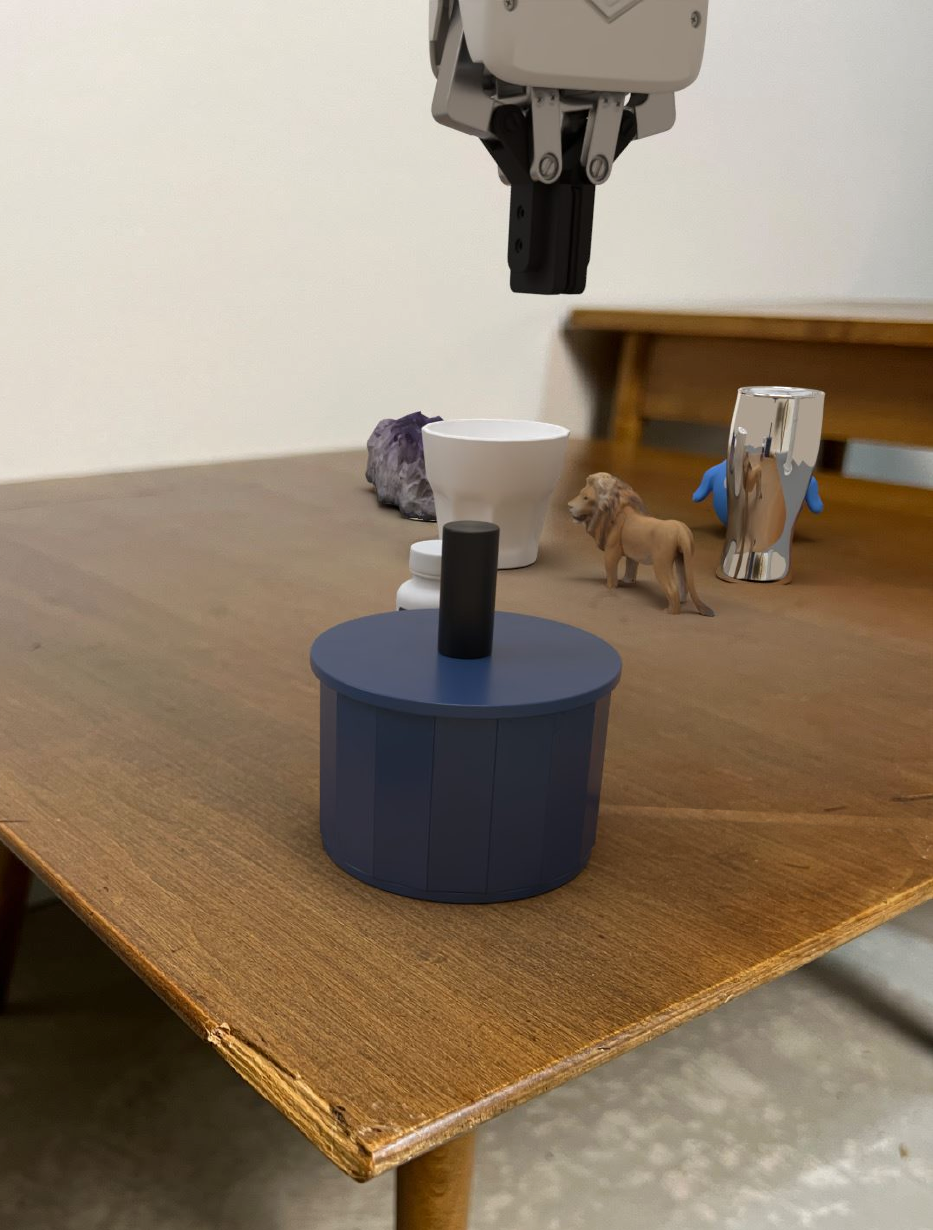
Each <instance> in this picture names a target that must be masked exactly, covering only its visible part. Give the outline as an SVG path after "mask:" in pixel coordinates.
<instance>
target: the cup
mask: <svg viewBox="0 0 933 1230" xmlns="http://www.w3.org/2000/svg"><path fill="white" fill-rule="evenodd" d="M570 435H571V431H570V429H568V428H566V427H563V426H561V425H557V424H553V423H547V422H542V421H533V420H532V421H531V420H523V419H508V418H507V419H506V418H505V419H504V418H461V419H448V420H447V419H446V420H445V419H444V421H439V422H433V423H428V424H427V425H425V426H424V427H422V439H423V449H424V459H425V469H426V477H427V479H428V481H429V484H430V486H431V488H432V491H433V495H434V502H435V510H436V517H437V521H436V524H437V531H438V538H439V539H438V540H442V533H443V525H444V524H446V523H449V522H453V521H464V520H472V521H483V522H489V523H493V524H496V525H498V526H499V528H500V536H499V552H498V567H497V570H511V569H518V568H519V569H520V568H524V567H527V566H530V565H532V564H534V563H535V562H536V561H537V558H538V550H539V543H540V540H541V535H542V531H543V527H544V523H545V519H546V517H547V516H546V515H547V511H548V507H549V503H550V499H551V497H552V494H553V493H554V490H555V489H556V487H557V485H558V483H559V481H560V479H561V474H562V470H563V466H564V462H565V456H566V453H567V448H568V443H569V439H570Z"/></svg>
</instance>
